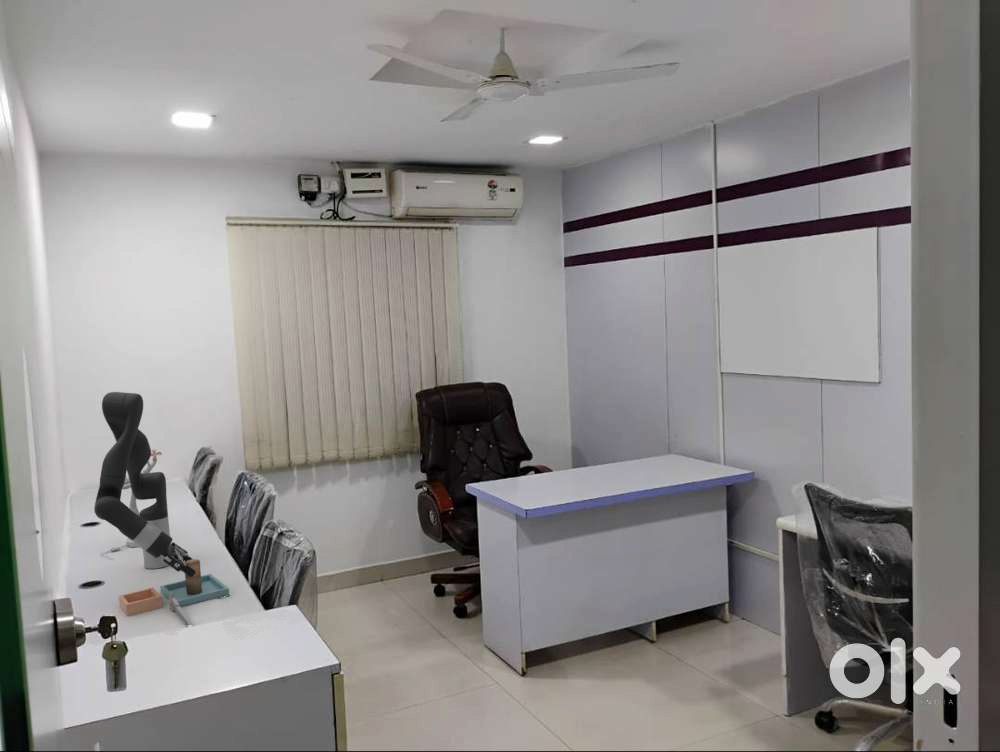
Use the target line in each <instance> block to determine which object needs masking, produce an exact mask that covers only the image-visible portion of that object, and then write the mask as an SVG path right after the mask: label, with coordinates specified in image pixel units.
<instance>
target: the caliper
mask: <svg viewBox="0 0 1000 752" xmlns="http://www.w3.org/2000/svg"><path fill="white" fill-rule="evenodd" d="M168 609H169V611H170V612H175V613H176V614H178V616H179V617H180V619H182V621H183V622H184V624H185V625H186V626H187V625H194V623H193V622H192V620H191V619H190V618H189V617H188V615H187V614H186V613H185V611H184V610H183V607H180V606H179V603H178V602H177V600H176V599H175V598H174V594H173V592H170V593H169V600H168Z"/></svg>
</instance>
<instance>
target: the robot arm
mask: <svg viewBox="0 0 1000 752" xmlns="http://www.w3.org/2000/svg"><path fill="white" fill-rule="evenodd" d="M101 410H102V414H103V416H104V420H105V421H106V424H107V426H108V427H109V429H110V431H111V433H112V434H113V436H114V440H115V441H116V442H115V444H113V446H111V448H110V449H109V450H108V451H107V453H106V455H105V456H104V458H103V461H102V463H101V464H102V466H101V470H100V477H99V487H98V490H97V493H96V498H95V502H94V509H93V510H94V514H95V516H96V517H97V518H98V519H100V520H102V521H106V522H107V523H109V525H111V526H112V527H115V528H116V529H118V530H119V532H120V533H121V534H122V535H123V536H125V538H127V539H128V538H129V539H131V540H132V541H133V542H135V543H136V544H137V545H138V546H139V547H138V548H140V549H142V552H143V553H142V554H143V565H144V568H145V569H151V570H152V569H161V568H165V567H168V566H169V567H171V568H172V569H173V570H175V571H176V572H178V573H179V572H183V573H184V575H185V574H187V575H188V576H190V577H193V575H194V574H195V573H196V571H195V570H194V569H192V568H191V567H190V566H188V565H186V563H185V561H188V560H192V559H193V558H192V557H191V556H190V555H189V552H188V551H187V550H186V549H184V548H182V546H179V545H178V544H177V543H175V542H173V540H174V539H173V537H172V536H171V533H170V531H171V530H170V521H169V511H168V500H167V498H168V497H167V496H168V495H167V480H166V476H165V474H164V472H162V471H157V472H156V471H153V472H149V473H140V472H141V471H143V470H144V468H145V467H146V465H148V464H147V462H148V461H149V462H150V459H151V457H152V456H151V453H152V449H151V446H150V442H149V439H148V438H147V436H146V435H145V433H144V432H143V431H141V430H140V429H139V426H140V424H141V420H142V417H143V416H142V415H143V412H144V399H143V397H142V395H141V394H139V393H136V392H121V391H109V392H107V393H106V394H105V395H104V396H103V398H102V401H101ZM125 477H128V478H129V480H130V484H131V488H130V489H132V490H131V493H132V492H133V495H134V497H135V498H136V500H139V501H143V500H144V501H145V500H146V501H147V500H155V503H153V504H152V505H150V506H148V507H145V508H142V510H140V511H139V515H137V514H136V513H134V512H133V511H132V510H131V509H130V507H128V505H126V504H125V503H124V502H123V501H121V498H122V497H121V496H122V492H123V491H122V490H123V489H122V488H123V486H124V482H125Z"/></svg>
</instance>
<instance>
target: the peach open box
mask: <svg viewBox="0 0 1000 752" xmlns="http://www.w3.org/2000/svg"><path fill="white" fill-rule="evenodd" d="M162 597H163V596H162V595H161V593H159V592H158V591H157V590H156V589H155V588H154V587H149V588H145V589H141V590H137V591H131V592H129V593H124V594H120V595H118V602H119V608H120V609H121V611H122V612H123V613H124V614H125V616H126V617H131V616H134V615H138V614H142V613H146V612H151V611H153V610H157V609H162V608H163V598H162Z"/></svg>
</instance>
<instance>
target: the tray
mask: <svg viewBox="0 0 1000 752" xmlns="http://www.w3.org/2000/svg"><path fill="white" fill-rule="evenodd" d="M201 584H202V592H201V593H199V594H196V595H187V593H186V580H185V579H184V580H180V581H175V582H171V583H168V584H164V585H160V586H159V587H160V594H162V595H163V596H164V597H165V598H166V599H167V600H168V601H169V593H170V592H173V594H174V598H175V599H176V600H177V602H178V603H179V606H180V607H181V608H184V607H187V606H190V605H194V604H195V605H196V604H199V603H204V602H207V601H210V600H214V599H217V600H219V599H218V598H220V599H222V598H221V597H224V596H227V595H229V596H230V588H229V587H228V586H227V585H226V584H224V583H223V582H222V581H220V580H219V578H217V577H215V575H213V574H212V573H208V574H203V575H201ZM227 597H228V596H227ZM224 598H225V597H224Z"/></svg>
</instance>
